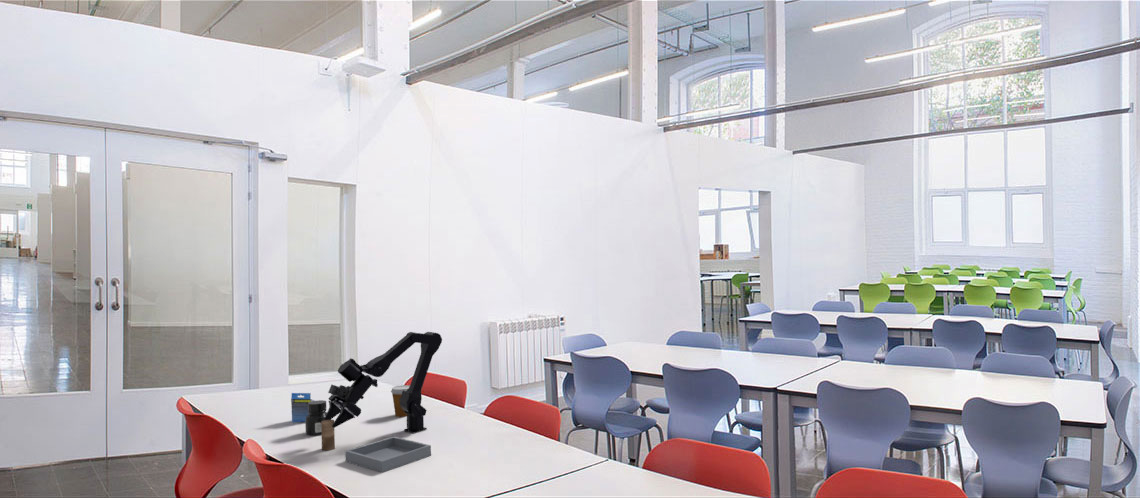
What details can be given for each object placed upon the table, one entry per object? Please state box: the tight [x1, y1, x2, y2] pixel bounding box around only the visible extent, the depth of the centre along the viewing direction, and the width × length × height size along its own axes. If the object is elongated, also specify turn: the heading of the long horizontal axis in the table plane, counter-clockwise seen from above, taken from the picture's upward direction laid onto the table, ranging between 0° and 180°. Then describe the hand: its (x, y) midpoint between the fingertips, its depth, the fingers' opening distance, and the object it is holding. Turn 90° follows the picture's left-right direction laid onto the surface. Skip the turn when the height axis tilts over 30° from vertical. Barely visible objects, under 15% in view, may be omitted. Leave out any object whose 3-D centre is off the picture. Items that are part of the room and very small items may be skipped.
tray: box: [344, 436, 432, 473], centre depth 219 cm, size 20×20×4 cm
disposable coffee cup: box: [390, 384, 410, 418], centre depth 278 cm, size 10×10×12 cm
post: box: [320, 419, 336, 452], centre depth 232 cm, size 4×4×10 cm
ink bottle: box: [304, 399, 328, 436], centre depth 253 cm, size 10×9×12 cm
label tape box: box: [290, 392, 316, 423], centre depth 272 cm, size 9×4×12 cm, turn 84°
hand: (328, 424), depth 232 cm, fingers open, 9 cm apart
